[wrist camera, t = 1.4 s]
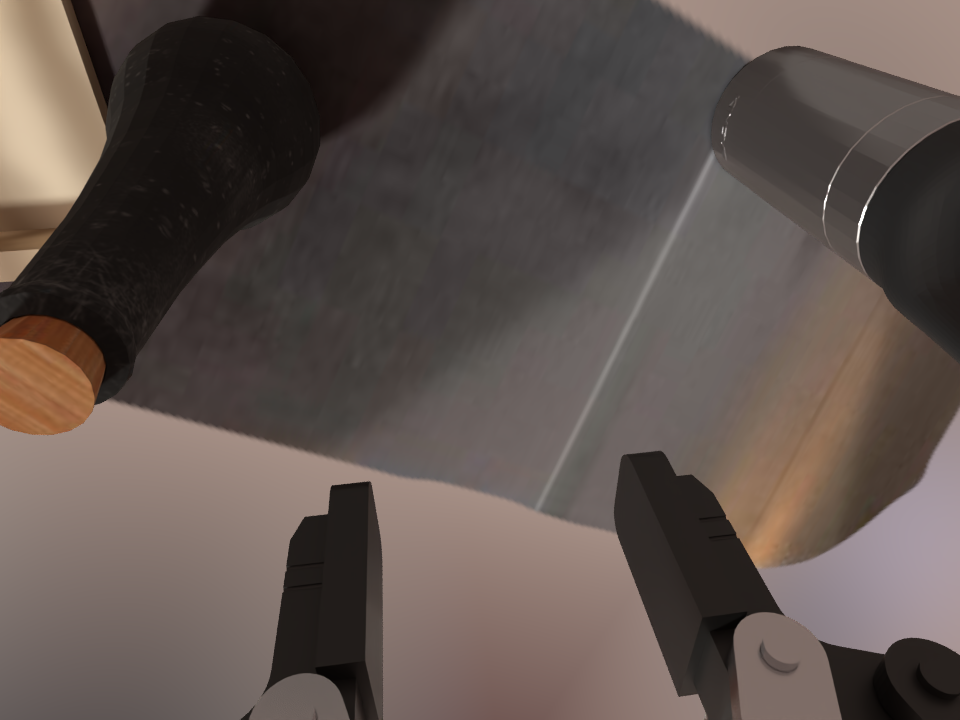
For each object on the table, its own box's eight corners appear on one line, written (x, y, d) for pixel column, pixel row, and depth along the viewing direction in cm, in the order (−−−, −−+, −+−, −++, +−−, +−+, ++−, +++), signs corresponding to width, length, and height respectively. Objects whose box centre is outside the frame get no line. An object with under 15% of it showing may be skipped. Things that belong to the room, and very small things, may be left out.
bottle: (230, -39, 36) (-79, 63, 12) (361, 112, 42) (336, 396, 17) (110, 87, 39) (-338, 380, 15) (248, 213, 44) (89, 580, 20)
